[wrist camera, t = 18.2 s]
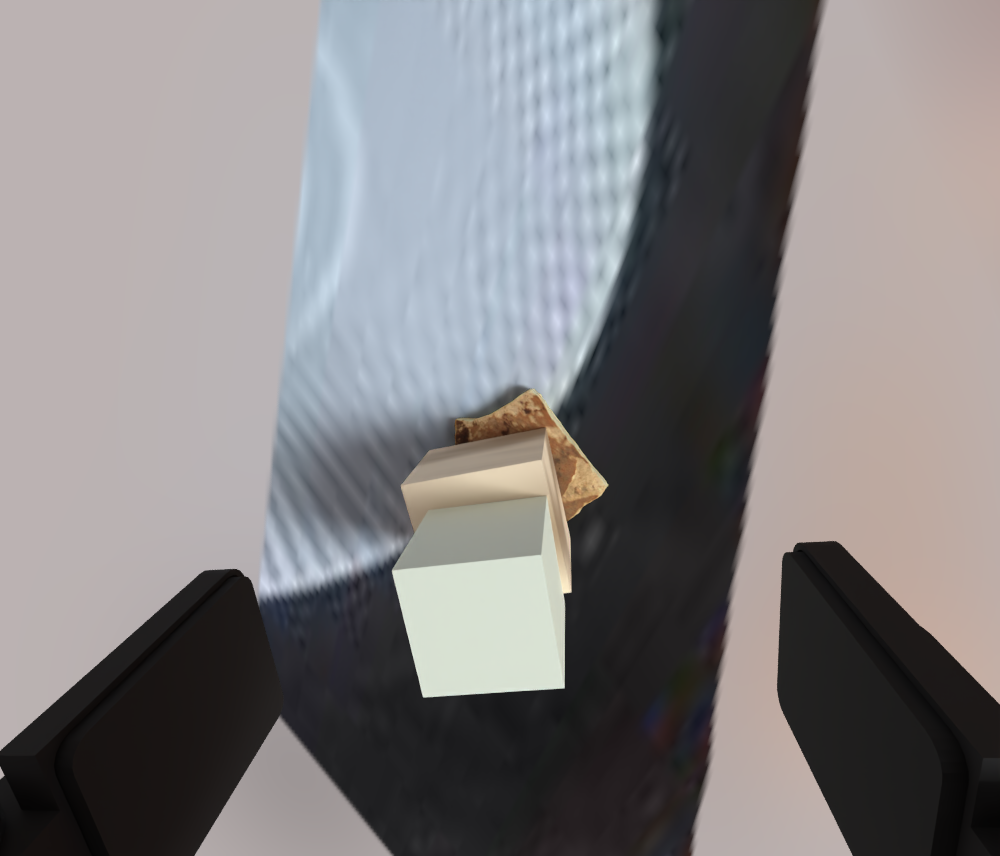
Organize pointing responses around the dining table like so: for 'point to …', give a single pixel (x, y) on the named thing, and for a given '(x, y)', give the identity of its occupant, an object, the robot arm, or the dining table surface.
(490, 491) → the beige metal block
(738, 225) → the dining table surface
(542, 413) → the shard
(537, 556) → the sage block
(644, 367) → the dining table surface
